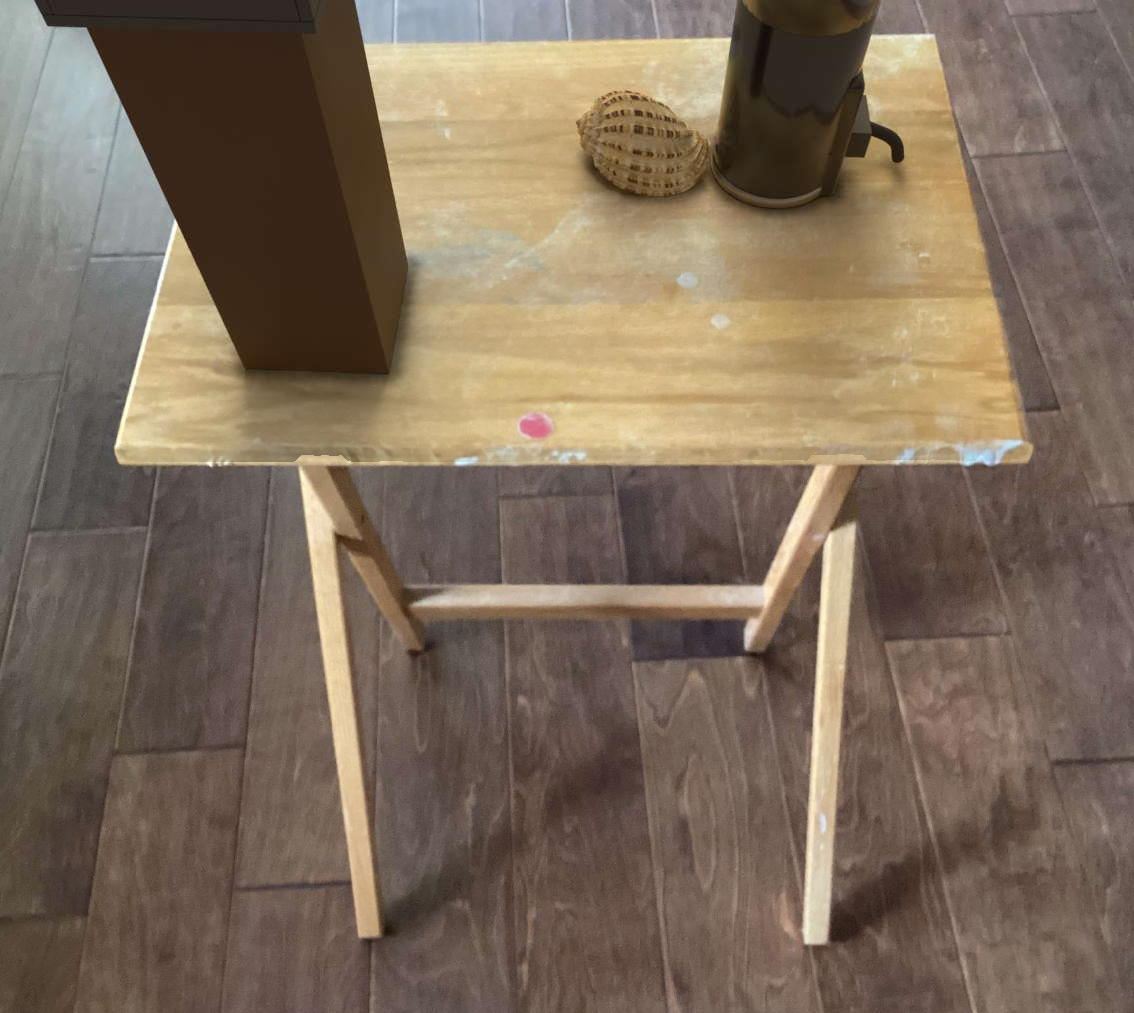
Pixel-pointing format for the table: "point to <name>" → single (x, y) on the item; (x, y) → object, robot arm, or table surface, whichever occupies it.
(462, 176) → the table surface
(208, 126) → the bin
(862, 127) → the robot arm
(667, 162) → the seashell
